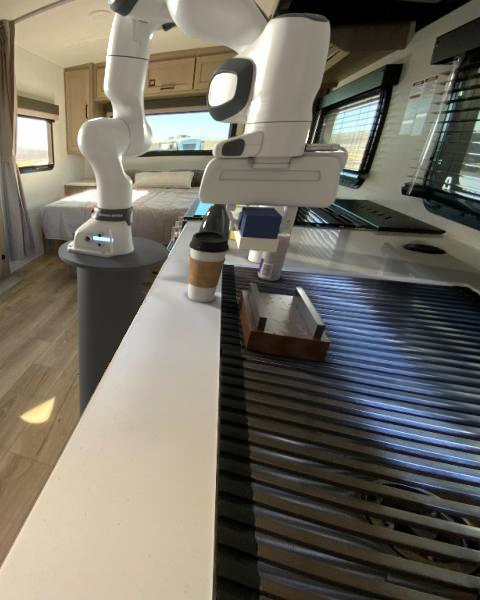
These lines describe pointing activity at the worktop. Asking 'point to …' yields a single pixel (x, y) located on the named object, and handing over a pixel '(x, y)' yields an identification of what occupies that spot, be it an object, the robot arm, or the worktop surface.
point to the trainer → (258, 229)
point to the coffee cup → (206, 264)
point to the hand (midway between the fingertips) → (254, 231)
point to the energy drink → (274, 259)
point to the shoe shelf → (282, 324)
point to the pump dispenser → (216, 220)
